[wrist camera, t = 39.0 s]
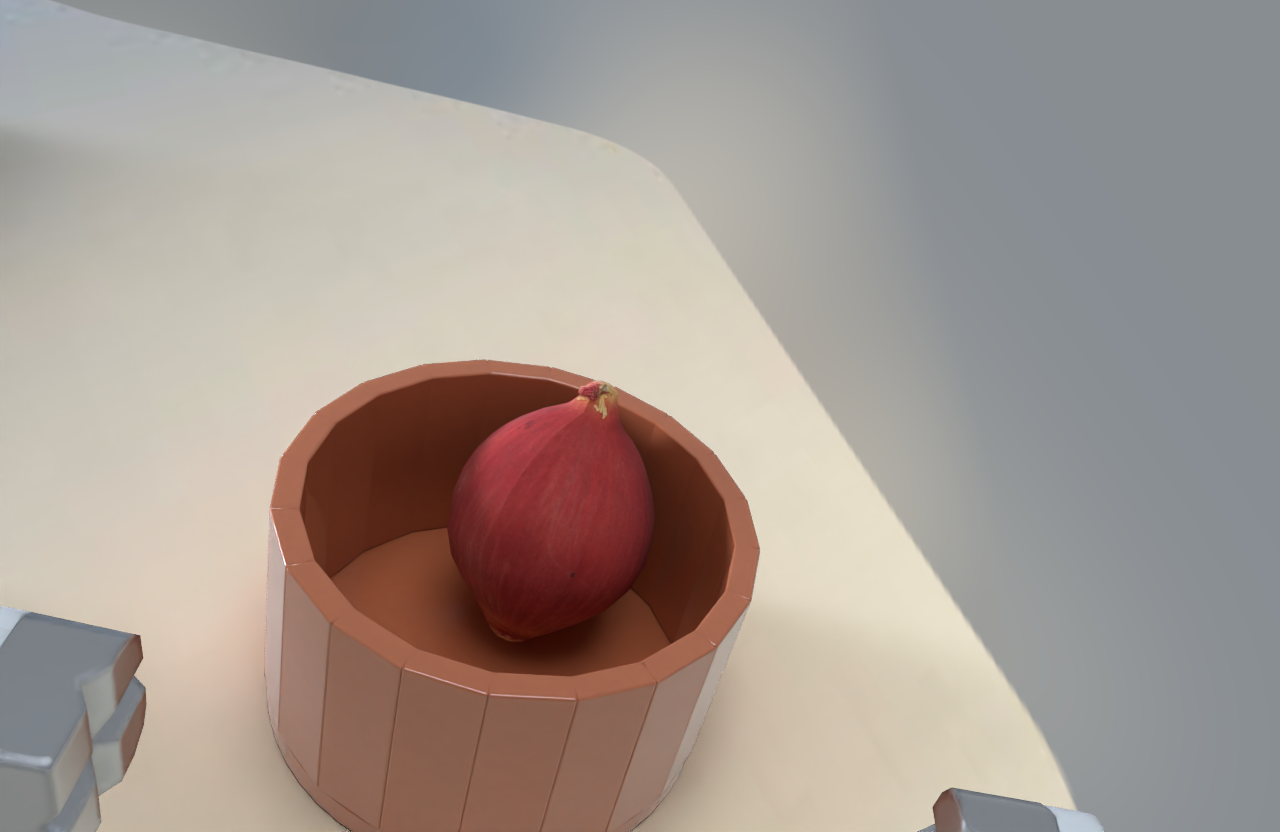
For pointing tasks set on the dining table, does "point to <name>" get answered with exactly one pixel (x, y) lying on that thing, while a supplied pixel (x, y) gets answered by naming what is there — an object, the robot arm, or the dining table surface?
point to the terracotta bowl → (458, 631)
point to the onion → (552, 516)
